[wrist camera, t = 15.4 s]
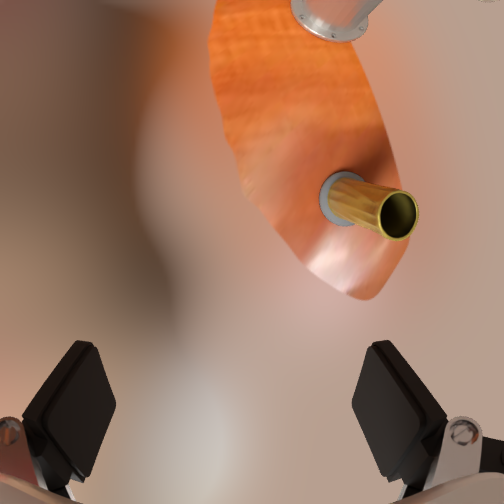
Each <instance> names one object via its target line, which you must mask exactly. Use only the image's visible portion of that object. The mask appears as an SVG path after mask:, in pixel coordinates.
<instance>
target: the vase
mask: <svg viewBox="0 0 504 504" xmlns="http://www.w3.org/2000/svg"><path fill="white" fill-rule="evenodd" d="M327 201H328V206H329V208H330V210H331V212H332V213H333V214H334V215H335V216H336V217H338V218H341V219H344V220H347V221H349V222H352V223H354V224H356V225H359V226H361V227H364V228H367V229H370V230H372V231H374V232H376V233H378V234H380V235H381V236H383V237H384V238H386V239H389V240H393V241H401V240H404V239H406V238H407V237H409V236H410V235H411V234H412V232H413V231H414V229H415V227H416V225H417V222H418V218H419V209H418V205H417V203H416V201H415V199H414V197H413V196H412V195H411V194H410V193H408V192H406V191H402V190H399V189H395V188H390V187H385V186H380V185H376V184H371V183H367V182H363V181H359V180H356V179H353V178H348V177H344V178H341V179H338V180H337V181H335V182H334V183H333V184H332V186H331V187H330V189H329V192H328V196H327Z"/></svg>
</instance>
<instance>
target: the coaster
mask: <svg viewBox="0 0 504 504" xmlns="http://www.w3.org/2000/svg"><path fill="white" fill-rule="evenodd" d="M344 177H348V178H353V179H356V180H359V181H363V182H365V181H364V180H363V179H362V178H361V177H360V176H359V175H357V174H355V173H352V172H338V173H335V174H333V175H331V176H330V177H328V178H327V179H326V180H325V182H324V183H323V185H322V187H321V189H320V193H319V205H320V208H321V211H322V213H323V214H324V216H325V217H326V218H327V219H328V220H329V221H331V222H332V223H334V224H336V225H339V226H351V225H354V223H352V222H349V221H347V220H344V219H341V218H338V217H336V216H335V215H334V214H333V213H332V212H331V210H330V208H329V206H328V201H327V196H328V192H329V189H330V187H331V186H332V184H333V183H334V182H335V181H337V180H338V179H341V178H344Z"/></svg>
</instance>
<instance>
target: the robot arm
mask: <svg viewBox="0 0 504 504" xmlns="http://www.w3.org/2000/svg"><path fill="white" fill-rule="evenodd" d="M382 1H383V0H291V3H290V4H291V11H292V14H293V16H294V18H295V19H296V21H297V22H298V23H299V24H300V25H301V26H302V27H303V28H304V29H305V30H307V31H308V32H310V33H311V34H313V35H315V36H317V37H319V38H321V39H324V40H327V41H331V42H339V43H344V42H351V41H354V40H356V39H358V38H359V37H360V36H362V35H363V34H364V33H365V31H366V29H367V27H368V14H370V13H371V11H373V10H374V9H375V8H376V7H377V6H378V4H379V3H381V2H382ZM479 1H482V2H495V1H498V0H479ZM115 408H116V400H115V398H114V395H113V392H112V390H111V387H110V384H109V382H108V379H107V376H106V373H105V370H104V367H103V364H102V361H101V358H100V355H99V352H98V349H97V348H96V347H94V345H93V344H92V343H91V342H86V341H79V340H77V341H75V343H74V344H73V345H72V346H71V347H70V349H69V350H68V351H67V353H66V354H65V356H64V357H63V358H62V359H61V361H60V362H59V363H58V365H57V366H56V367H55V369H54V370H53V371H52V373H51V374H50V376H49V377H48V378H47V380H46V381H45V382H44V384H43V385H42V387H41V388H40V389H39V391H38V392H37V394H36V395H35V397H34V398H33V399H32V401H31V403H30V404H29V405H28V407H27V408H26V410H25V412H24V413H23V414H22V417H23V418H24V419H23V421H22V423H21V422H20V420H19V419H17V418H14V417H3V418H1V419H0V504H81V503H79V502H76V500H75V498H74V495H73V493H72V491H71V489H70V486H69V484H68V483H69V480H70V479H73V480H75V481H78V482H81V483H84V480H85V478H86V477H89V476H90V474H91V471H92V468H93V466H94V463H95V460H96V457H97V455H98V452H99V449H100V446H101V444H102V441H103V439H104V436H105V433H106V431H107V429H108V426H109V423H110V421H111V418H112V416H113V414H114V411H115ZM352 408H353V410H354V413H355V415H356V417H357V419H358V422H359V424H360V426H361V429H362V431H363V433H364V435H365V438H366V440H367V442H368V445H369V447H370V449H371V452H372V454H373V456H374V459H375V461H376V463H377V466H378V468H379V470H380V473H381V475H382V476H384V477H387V480H388V482H392V481H395V480H397V479H400V478H402V480H403V482H404V486H403V488H402V490H401V493H400V495H399V497H398V500H397V501H396V502H393V503H390V504H504V441H501V440H496V439H491V438H488V437H483V435H482V430H481V427H480V425H479V424H478V423H477V422H476V421H475V420H473V419H472V418H469V417H464V416H459V417H455V418H453V419H451V420H450V421H448V420H447V418H446V417H447V415H446V413H445V412H444V410H443V409H442V408H441V406H440V405H439V404H438V402H437V401H436V400H435V398H434V397H433V395H432V394H431V393H430V392H429V390H428V389H427V387H426V386H425V385H424V383H423V382H422V381H421V380H420V378H419V377H418V376H417V374H416V373H415V372H414V370H413V369H412V368H411V367H410V365H409V364H408V363H407V361H406V360H405V359H404V358H403V357H402V355H401V354H400V352H399V351H398V350H397V349H396V347H395V346H394V345H393V344H392V343H391V342H390V341H389V340H384V341H377V342H373V343H372V345H371V346H370V347H368V349H367V352H366V355H365V359H364V363H363V366H362V370H361V373H360V377H359V380H358V383H357V386H356V389H355V392H354V396H353V398H352Z"/></svg>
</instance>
